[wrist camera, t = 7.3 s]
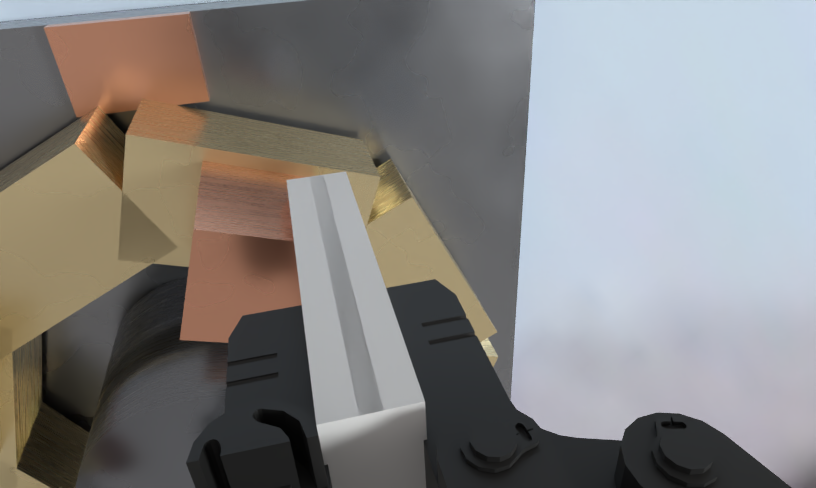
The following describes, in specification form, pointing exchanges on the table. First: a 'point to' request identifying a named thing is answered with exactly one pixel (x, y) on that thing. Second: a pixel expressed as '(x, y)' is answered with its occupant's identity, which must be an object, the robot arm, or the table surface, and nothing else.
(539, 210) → the table surface
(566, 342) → the table surface
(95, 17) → the cap plate
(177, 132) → the ring nut
